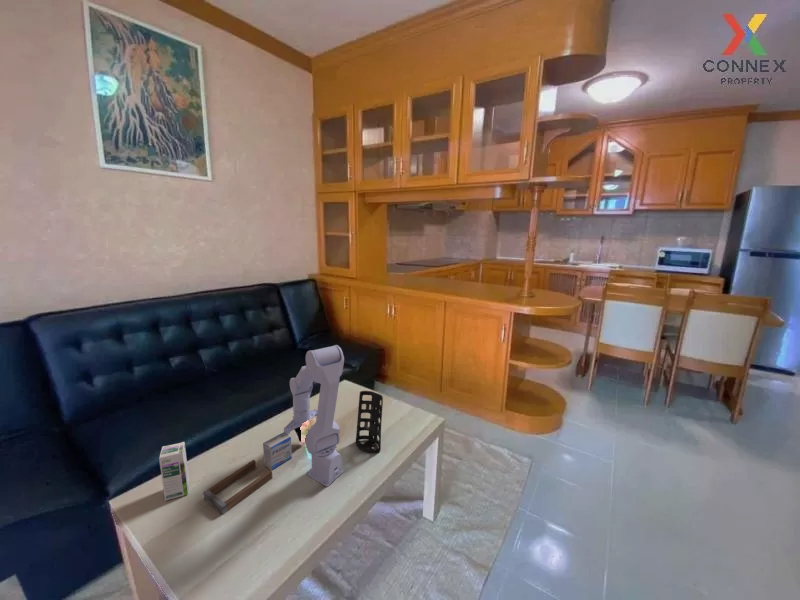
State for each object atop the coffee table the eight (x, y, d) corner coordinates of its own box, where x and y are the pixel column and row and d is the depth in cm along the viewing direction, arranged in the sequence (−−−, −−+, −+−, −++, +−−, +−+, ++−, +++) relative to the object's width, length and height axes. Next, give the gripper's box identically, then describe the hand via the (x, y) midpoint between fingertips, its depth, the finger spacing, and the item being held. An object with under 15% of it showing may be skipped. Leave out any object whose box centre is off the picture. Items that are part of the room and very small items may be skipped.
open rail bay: (272, 478, 105) (272, 471, 105) (222, 514, 92) (222, 507, 91) (253, 466, 110) (253, 459, 109) (204, 499, 96) (203, 491, 96)
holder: (349, 446, 121) (354, 395, 118) (359, 436, 128) (364, 387, 125) (376, 455, 117) (381, 403, 114) (385, 445, 124) (390, 395, 121)
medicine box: (271, 471, 108) (270, 448, 106) (263, 464, 111) (262, 442, 109) (292, 458, 114) (291, 436, 112) (284, 452, 117) (283, 431, 115)
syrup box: (164, 501, 95) (158, 458, 92) (167, 487, 100) (161, 445, 97) (187, 495, 97) (182, 452, 94) (189, 481, 103) (184, 440, 99)
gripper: (309, 396, 126) (309, 427, 129) (277, 413, 114) (278, 447, 117) (322, 401, 123) (322, 434, 126) (291, 420, 110) (292, 455, 114)
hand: (302, 441), depth 121 cm, fingers closed
